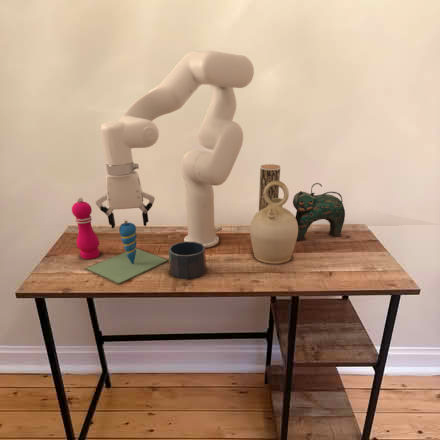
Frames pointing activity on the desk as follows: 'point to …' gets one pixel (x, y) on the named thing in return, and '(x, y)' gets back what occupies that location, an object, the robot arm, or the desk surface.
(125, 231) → the ornament
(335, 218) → the ceramic cat
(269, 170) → the wooden log
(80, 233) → the pepper mill
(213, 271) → the desk surface
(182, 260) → the crock
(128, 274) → the mat
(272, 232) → the jug
